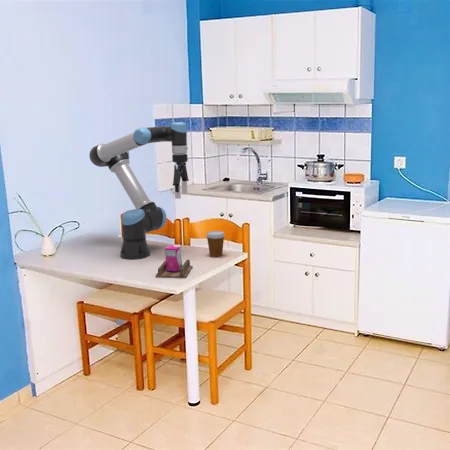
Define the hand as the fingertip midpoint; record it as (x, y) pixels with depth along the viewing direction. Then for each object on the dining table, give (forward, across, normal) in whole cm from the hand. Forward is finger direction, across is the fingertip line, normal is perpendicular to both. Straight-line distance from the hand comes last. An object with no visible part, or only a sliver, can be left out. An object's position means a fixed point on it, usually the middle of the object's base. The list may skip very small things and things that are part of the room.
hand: (181, 196), depth 284 cm
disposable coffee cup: (+31, +1, -17) cm, 35 cm away
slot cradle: (+31, -30, -3) cm, 43 cm away
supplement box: (+30, -30, -3) cm, 42 cm away
